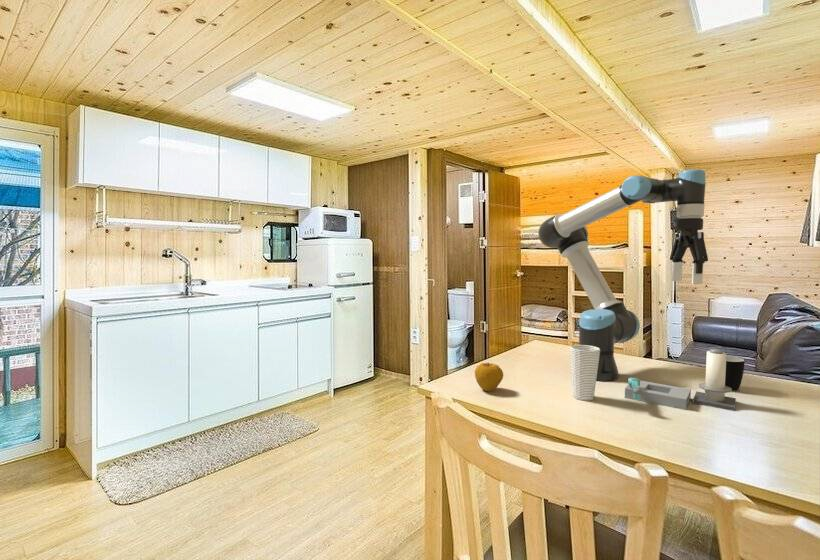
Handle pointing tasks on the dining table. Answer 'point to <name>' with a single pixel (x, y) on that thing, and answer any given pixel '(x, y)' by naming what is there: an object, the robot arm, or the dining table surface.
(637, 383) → the clip
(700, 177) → the robot arm
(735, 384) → the mug
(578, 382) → the cup
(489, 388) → the apple
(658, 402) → the socket block
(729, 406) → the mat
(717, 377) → the plug
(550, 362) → the dining table surface
